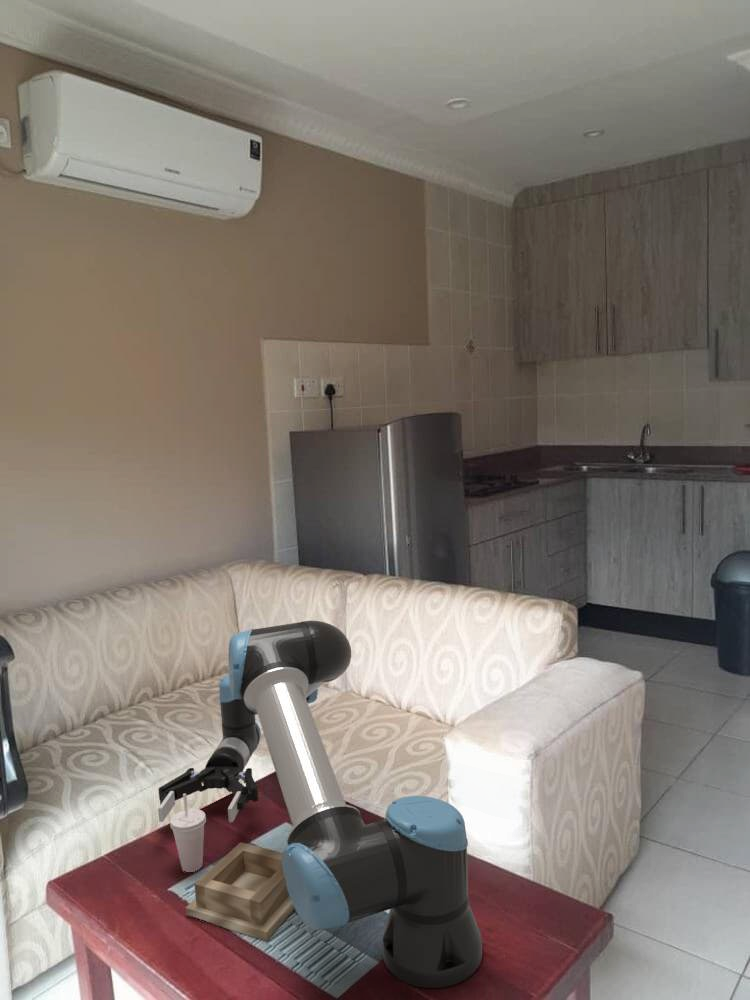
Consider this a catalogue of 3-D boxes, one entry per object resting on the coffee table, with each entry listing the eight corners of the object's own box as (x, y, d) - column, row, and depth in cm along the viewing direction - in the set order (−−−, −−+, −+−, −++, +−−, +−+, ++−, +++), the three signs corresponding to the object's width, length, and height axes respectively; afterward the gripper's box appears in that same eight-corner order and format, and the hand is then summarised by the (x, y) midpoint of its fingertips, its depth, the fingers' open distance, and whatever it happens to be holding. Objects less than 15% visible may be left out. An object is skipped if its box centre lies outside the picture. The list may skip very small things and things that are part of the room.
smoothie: (200, 852, 148) (194, 783, 146) (216, 867, 143) (210, 795, 141) (168, 866, 144) (161, 795, 142) (183, 882, 139) (176, 808, 137)
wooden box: (314, 885, 136) (312, 856, 135) (266, 940, 123) (264, 908, 122) (239, 865, 143) (236, 837, 142) (186, 916, 130) (183, 885, 129)
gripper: (285, 779, 167) (261, 834, 146) (173, 778, 170) (133, 833, 149) (283, 745, 166) (258, 796, 145) (170, 746, 169) (130, 796, 148)
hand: (195, 815), depth 147 cm, fingers open, 13 cm apart
